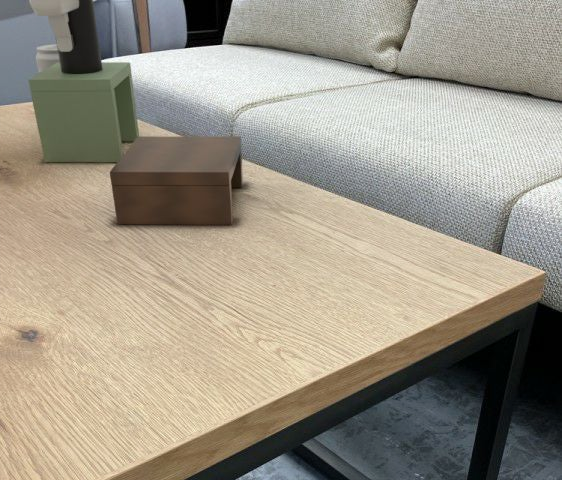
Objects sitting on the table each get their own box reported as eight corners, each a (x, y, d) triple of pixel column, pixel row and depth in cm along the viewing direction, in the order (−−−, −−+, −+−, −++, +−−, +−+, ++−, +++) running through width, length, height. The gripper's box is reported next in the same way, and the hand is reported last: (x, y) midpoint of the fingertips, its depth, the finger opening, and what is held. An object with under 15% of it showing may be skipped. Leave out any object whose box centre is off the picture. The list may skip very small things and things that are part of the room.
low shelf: (117, 224, 79) (109, 171, 76) (143, 183, 91) (137, 136, 87) (231, 225, 78) (228, 171, 75) (243, 183, 90) (241, 136, 87)
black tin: (56, 74, 95) (42, -1, 90) (68, 66, 100) (56, -5, 95) (96, 74, 95) (85, -1, 90) (107, 66, 100) (96, -6, 95)
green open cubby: (44, 162, 99) (27, 79, 93) (69, 138, 109) (56, 62, 103) (121, 162, 98) (109, 79, 92) (139, 138, 108) (130, 62, 102)
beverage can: (96, 122, 117) (84, 44, 110) (72, 132, 112) (57, 50, 105) (66, 119, 119) (52, 41, 112) (40, 128, 114) (24, 48, 108)
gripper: (59, -77, 97) (76, 33, 104) (3, -74, 80) (29, 58, 87) (104, -78, 96) (118, 33, 104) (58, -74, 79) (78, 58, 87)
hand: (77, 44), depth 96 cm, fingers open, 8 cm apart
